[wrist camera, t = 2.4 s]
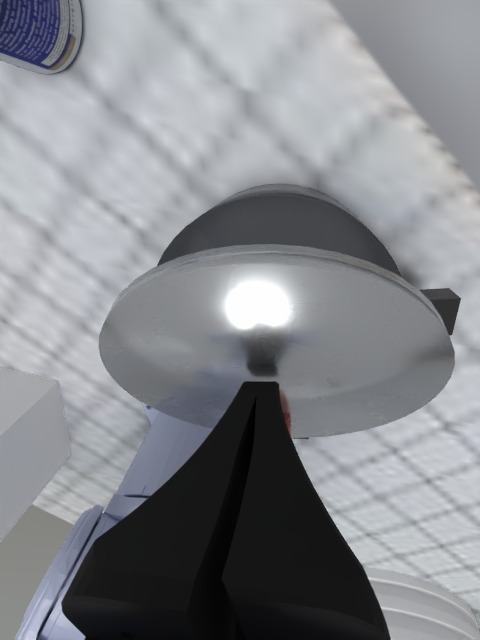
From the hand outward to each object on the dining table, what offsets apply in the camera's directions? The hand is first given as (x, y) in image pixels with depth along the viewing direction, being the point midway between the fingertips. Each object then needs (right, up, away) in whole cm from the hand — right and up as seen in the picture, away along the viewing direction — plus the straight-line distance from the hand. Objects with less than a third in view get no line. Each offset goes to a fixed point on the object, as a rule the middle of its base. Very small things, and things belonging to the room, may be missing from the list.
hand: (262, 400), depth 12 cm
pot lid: (0, +1, +2) cm, 2 cm away
